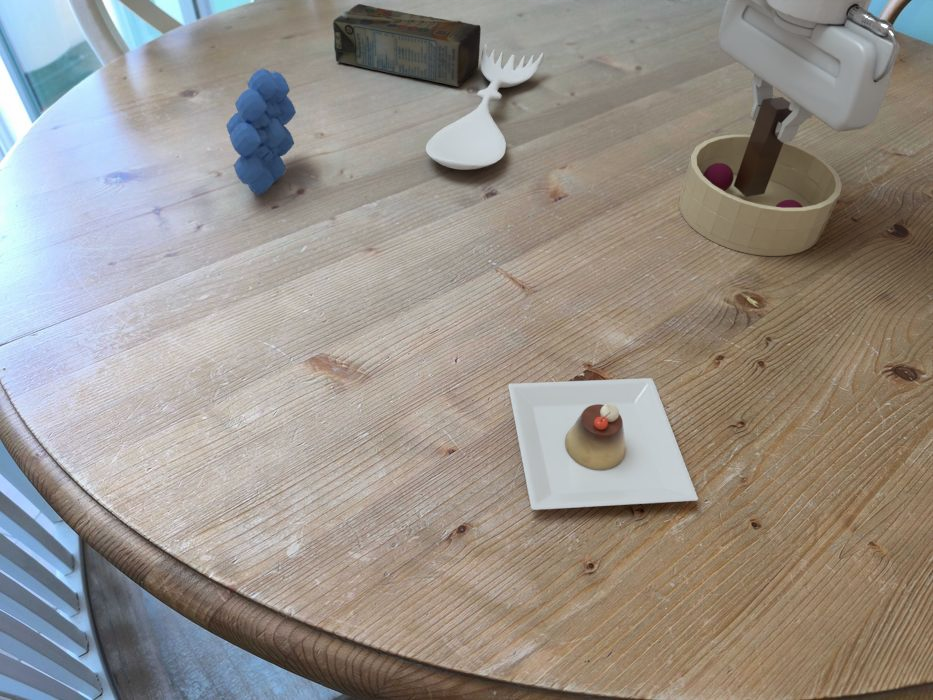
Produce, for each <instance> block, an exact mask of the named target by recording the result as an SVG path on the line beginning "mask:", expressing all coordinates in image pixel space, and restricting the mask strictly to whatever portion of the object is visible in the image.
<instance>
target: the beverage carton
mask: <svg viewBox="0 0 933 700" xmlns="http://www.w3.org/2000/svg"><path fill="white" fill-rule="evenodd" d="M341 13H342V14H341V15H339V16H337V17H336V18H335V19H333V21H332V28H333V37H334V41H333V45H334V46H333V47H334V49H333V50H334V54H335V61H336V63H342V64H345V65H352V66H355V67H360V68H365V69H369V70H373V71H378V72H383V73H388V74H394V75H399V76H404V77H409V78H414V79H419V80H425V81H430V82H435V83H439V84H443V85H448V86H453V87H460V86H461V85H462V84H463V83H464V82H465V81H466V80H467V79H468V78H469V77H470V76H471V75H472V74H473V73H475V71H476V70H478V68H479V65H480V64H479V63H480V62H479V61H480V47H481V33H482V32H481V30H482V28H481V25H480V24H474V23H469V22H464V21H461V20H450V19H445V18H438V17H433V16H426V15H421V14H415V13H409V12H403V11H399V10H392V9H387V8H381V7H375V6H372V5H366V4H363V3H358V4H356V5H354V6H353V7H351V8H349V10H345V11H342V12H341Z"/></svg>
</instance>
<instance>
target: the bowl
mask: <svg viewBox="0 0 933 700" xmlns="http://www.w3.org/2000/svg"><path fill="white" fill-rule="evenodd" d="M750 136H751V134H743V133H742V134H739V133H737V134H734V133H733V134H726V135H719V136H715V137H712V138H709V139H706V140H703V141H702V142H701V143H700V144H698V145H696V146H695V148H694V149H693V152H692V153H691V155H690V158H689V162H688V165H687V168H686V172H685V176H684V178H683V183H682V187H681V191H680V195H679V201H678V206H679V207H678V208H679V211H680V213H681V216H682V217H683V219H684V221H685V222H686V223H687V225H689V226H690V227H691V228H692V229H693V230H694V231H695V232H697V233H698V234H699V235H700V236H702V237H704V238H705V239H707V240H709V241H710V242H712V243H715V244H717V245H719V246H721V247H724V248H726V249H729V250H733V251H735V252H740V253H744V254H749V255H755V256H761V257H762V256H763V257H784V256H791V255H795V254H801V253H802V252H805V251H808V250H809V249H810V248H812V247H814V245H816V244H817V243H818V241H819V240H820V239H821V236H822V234H823V233H824V231H825V230H826V226H827V224H828V222H829V220H830V218H831V215H832V213H833V211H834V209H835V206H836V205H837V203H838V200H839V198H840V195H841V192H842V186H843V184H842V181H841V178H840V175H839V173H838V172H837V170H835V169H834V167H832V165H831V164H830V163H828V161H826V160H825V159H823V158H822V157H820V156H819V155H817V154H816V153H814V152H812V151H810V150H808V149H806V148H805V147H802V146H800V145H797V144H794V143H791V142H790V141H788V142H784V143H783V145H782V148H781V151H780V153H779V156H778V159H777V161H776V164H775V167H774V169H773V172H772V175H771V177H770V180H769V183H768V185H767V188H766V191H765V193H764V194H761V195H755V196H749V197H746V196H744V195H743V194H742V193H741V192H740V191H739V190H738V189H737V188H736V187H734V183H735V180H736V177H737V174H738V171H739V168H740V165H741V162H742V160H743V157H744V154H745V151H746V148H747V145H748V142H749V139H750ZM715 163H724V164H726V165H728V166H729V167H730V168H731V169H732V171H733V176H734V178H733V182H732V184H731V186H730V187H729V188H728V189H727V190H725V191H723V190H721V189H720V188H718V187H716V186H715V185H713V184H712V183H711V182H710V181H709V180H708V179H706V178H705V177H704V176H703V175H704V172H705V170H706V169H707V168H708V167H709V166H711V165H712V164H715ZM784 200H795V201H797V202H799V203H800V204H801V205H802V206H803V207H801V208H781V207H775V206H776V205H777V204H778V203H780V202H782V201H784Z"/></svg>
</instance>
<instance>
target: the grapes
mask: <svg viewBox="0 0 933 700" xmlns="http://www.w3.org/2000/svg"><path fill="white" fill-rule="evenodd" d="M247 81H248V82H247V83H246V84H247V87H248V88H247V89H245V90H244V91H242V93H240V95H239V96H238V98H237V99H236V101H235V103H234V105H235V108H236V111H237V112H235V113H234V114H233V115H232V116H231V117H230V118H229V121H228V122H227V123H226V129H227V132H228V135H229V141H230V143H231V145H232V147H233V149H234V151H235V152H236V153H237V154H238V155H239V157H238V158H237V159H236V161H235V162H234V164H233V168H234V172H235V174H236V176H237V178H238V179H239V180H240V181H241V183H242V184H244V185H247V186H248V188H249V189H250V190H251V192H252V193H253V194H256V195H262V194H265V193H266V192H267V191H268V190H269V188H271V187H272V186H273V184H274V183H275V182H277V181H279V179H281V177H282V176H283V175H284V174H285V173H286V171H287V168H286V166H285V163H284V160H283V158H282V156H285V155H286V154H287V153H289V151H290V150H291V149H292V148H293V146H294V145H295V141H294V137H293V135H292V133H291V132H290V130H289V129H288V128H287V127H286V125H288V123H289V122H290V121H292V119H293V117H294V116H295V115H296V113H297V112H296V107H295V106H294V104H293V101H292V100H291V98H289V96H288V94H289V93H290V91H291V89H290V86H289V84H288V82H287V80H286V78H285V77H284V75H282V73H280V72H278V71H276V70H274V71H272V72H270V71H269V70H268V69H266V68H263V67H262V68H259V69H257V70H256V71H255V72H254V73H253V74H252V75H251V76H250V78H249V80H247Z"/></svg>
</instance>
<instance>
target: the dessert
mask: <svg viewBox="0 0 933 700" xmlns="http://www.w3.org/2000/svg"><path fill="white" fill-rule="evenodd" d="M507 387H508V393H509V397H510V402H511V408H512V414H513V420H514V423H515V429H516V434H517V439H518V440H517V441H518V446H519V450H520V451H519V452H520V457H521V461H522V466H523V472H524V476H525V482H526V488H527V493H528V498H529V503H530V508H531V510H532V511H540V510H556V509H572V508H573V509H574V508H589V507H607V506H624V505H640V504H642V505H644V504H659V503H660V504H661V503H676V502H677V503H678V502H695V501H698V500H699V497H698V494H697V492H696V489H695V486H694V484H693V481H692V479H691V475H690V473H689V471H688V468H687V465H686V463H685V460H684V457H683V455H682V453H681V450H680V447H679V445H678V441H677V439H676V437H675V434H674V431H673V428H672V426H671V423H670V420H669V418H668V415H667V413H666V410H665V408H664V405H663V403H662V400H661V397H660V394H659V392H658V389H657V387H656V384H655V382H654V379H653V378H652V377H643V378H642V377H641V378H620V379H619V378H618V379H595V380H594V379H591V380H569V381H545V382H544V381H543V382H541V381H540V382H518V383H509V384H508V385H507Z"/></svg>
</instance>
